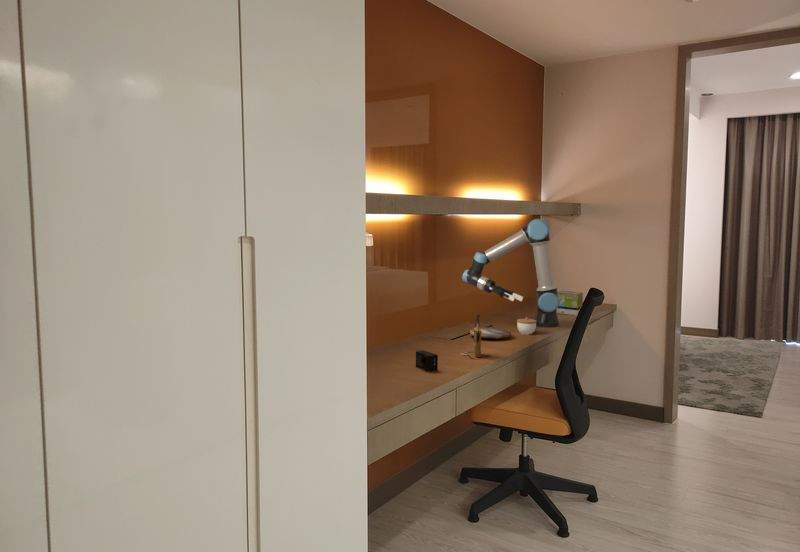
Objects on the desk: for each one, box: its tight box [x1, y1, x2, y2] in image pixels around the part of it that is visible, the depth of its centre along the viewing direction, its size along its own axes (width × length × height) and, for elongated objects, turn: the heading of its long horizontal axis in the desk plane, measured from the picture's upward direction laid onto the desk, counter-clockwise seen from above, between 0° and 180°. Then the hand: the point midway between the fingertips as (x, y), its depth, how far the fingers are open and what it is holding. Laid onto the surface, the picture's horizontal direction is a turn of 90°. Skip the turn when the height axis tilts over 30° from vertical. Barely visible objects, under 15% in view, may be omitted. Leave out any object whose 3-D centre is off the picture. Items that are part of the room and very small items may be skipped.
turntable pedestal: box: [481, 337, 499, 340], centre depth 334 cm, size 10×10×1 cm
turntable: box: [469, 326, 512, 339], centre depth 334 cm, size 22×22×2 cm
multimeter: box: [461, 313, 482, 360], centre depth 290 cm, size 15×10×20 cm
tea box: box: [557, 290, 584, 316], centre depth 413 cm, size 15×10×15 cm
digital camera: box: [415, 349, 439, 372], centre depth 267 cm, size 10×5×7 cm, turn 35°
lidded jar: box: [516, 316, 537, 336], centre depth 344 cm, size 11×11×9 cm
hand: (518, 299), depth 348 cm, fingers open, 13 cm apart
